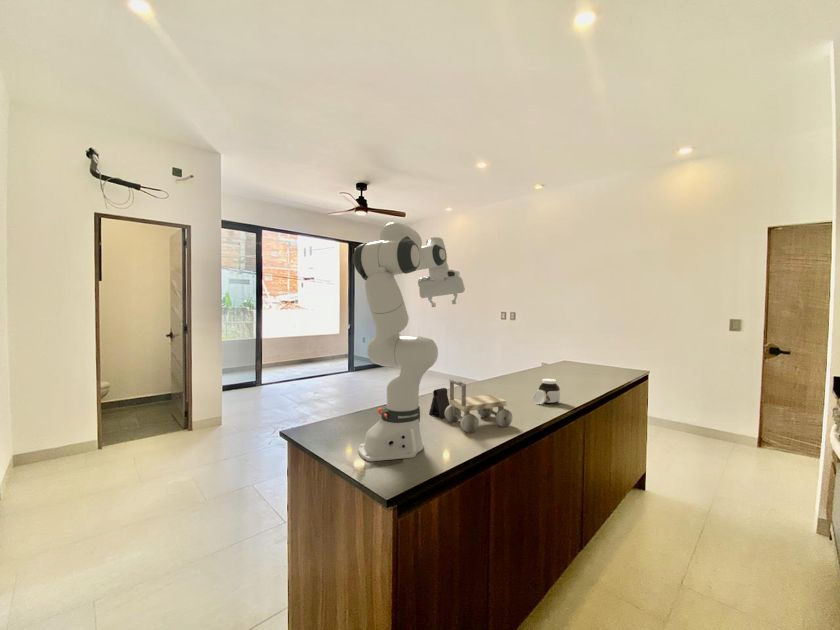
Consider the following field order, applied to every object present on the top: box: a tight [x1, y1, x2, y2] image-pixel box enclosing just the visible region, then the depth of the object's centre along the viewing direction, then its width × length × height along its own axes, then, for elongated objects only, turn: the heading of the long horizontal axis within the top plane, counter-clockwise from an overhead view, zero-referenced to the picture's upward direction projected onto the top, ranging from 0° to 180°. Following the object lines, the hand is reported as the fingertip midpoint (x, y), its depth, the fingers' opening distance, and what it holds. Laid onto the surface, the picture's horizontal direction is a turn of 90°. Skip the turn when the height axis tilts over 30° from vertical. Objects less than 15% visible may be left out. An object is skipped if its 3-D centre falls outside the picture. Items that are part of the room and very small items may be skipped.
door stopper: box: [428, 387, 451, 420], centre depth 161 cm, size 9×6×12 cm, turn 40°
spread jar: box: [532, 378, 561, 405], centre depth 179 cm, size 12×11×12 cm
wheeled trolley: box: [444, 378, 513, 434], centre depth 149 cm, size 23×16×19 cm
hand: (444, 305), depth 160 cm, fingers open, 8 cm apart
